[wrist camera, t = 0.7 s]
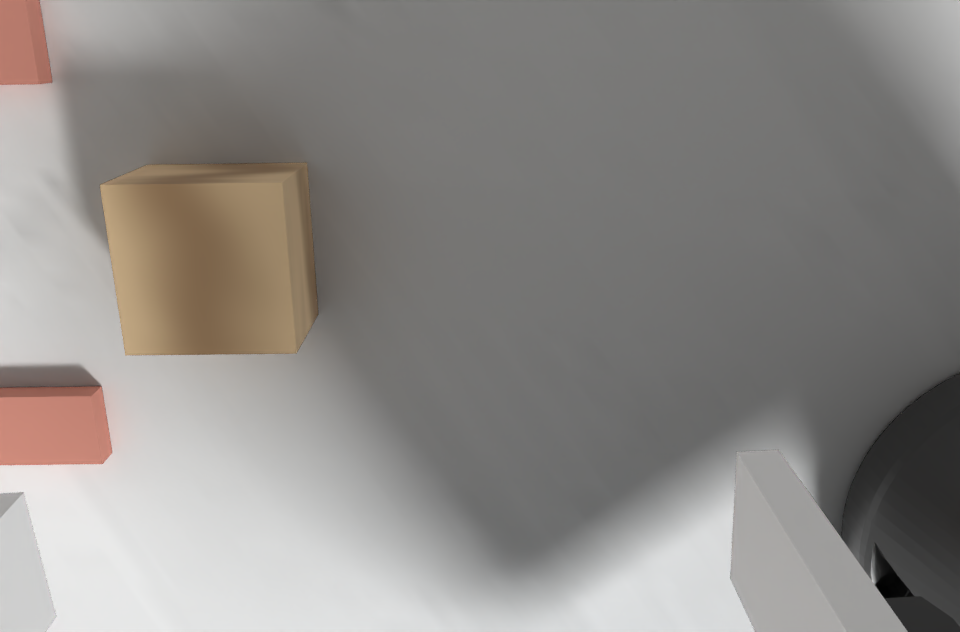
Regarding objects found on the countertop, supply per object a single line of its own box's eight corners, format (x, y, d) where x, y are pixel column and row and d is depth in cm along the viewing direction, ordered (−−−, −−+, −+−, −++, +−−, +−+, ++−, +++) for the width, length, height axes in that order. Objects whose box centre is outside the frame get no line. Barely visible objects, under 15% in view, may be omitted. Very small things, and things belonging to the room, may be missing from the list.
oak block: (308, 162, 33) (282, 182, 29) (318, 313, 35) (296, 353, 30) (148, 163, 33) (99, 184, 29) (168, 314, 35) (125, 355, 31)
